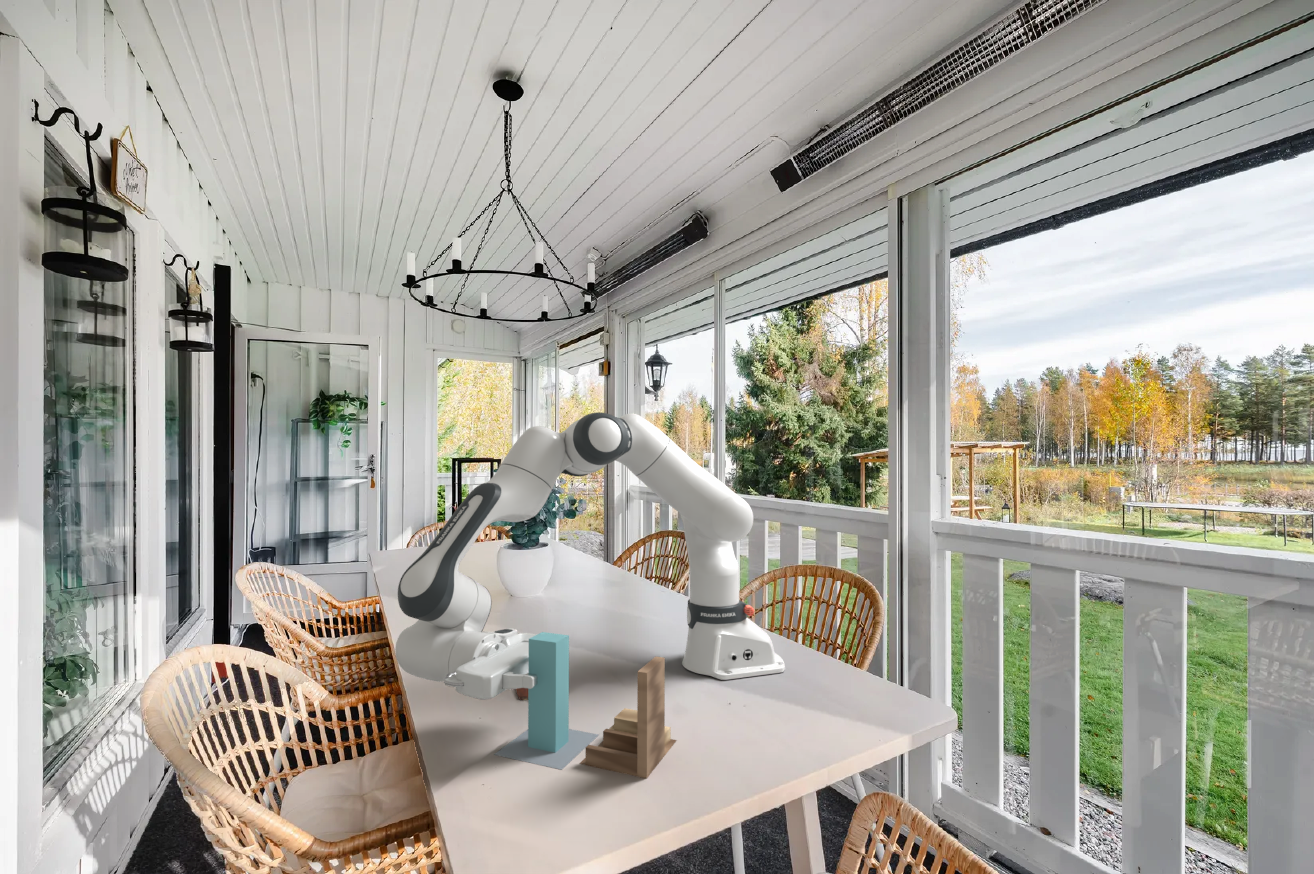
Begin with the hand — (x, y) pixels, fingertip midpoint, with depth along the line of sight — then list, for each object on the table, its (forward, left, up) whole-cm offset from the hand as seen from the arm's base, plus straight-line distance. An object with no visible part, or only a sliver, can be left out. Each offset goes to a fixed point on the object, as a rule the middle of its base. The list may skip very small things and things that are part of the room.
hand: (551, 671), depth 99 cm
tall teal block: (0, 0, -12) cm, 12 cm away
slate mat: (0, 0, -13) cm, 13 cm away
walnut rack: (-12, +4, -13) cm, 18 cm away
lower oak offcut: (-14, +1, -12) cm, 18 cm away
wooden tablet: (+4, -34, -13) cm, 37 cm away
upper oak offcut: (-14, +1, -10) cm, 17 cm away
